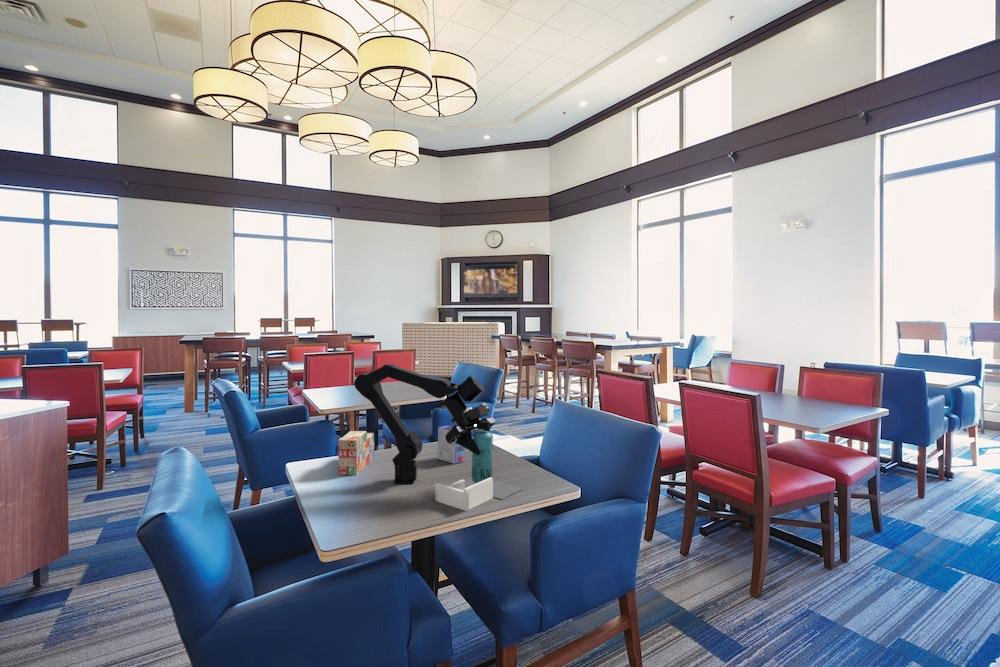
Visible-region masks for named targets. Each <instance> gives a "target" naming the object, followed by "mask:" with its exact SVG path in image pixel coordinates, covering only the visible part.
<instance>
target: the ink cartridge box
mask: <svg viewBox="0 0 1000 667" xmlns="http://www.w3.org/2000/svg"><path fill="white" fill-rule="evenodd" d="M456 425H457V424H456V422H455V423H454V424H453V423H452V421H450V422H449V425H444V426H438V428H437V430H438V434H437V459H438V460H440V461H444V462H447V463H451V464H454V465H455V464H459V463H463V462H465V461H466V459H465V458H466V448H465V447H463V446H461V445H459V444H455V442H456V441H457V439H456V440H455V442H453V443H450V444H448V442H447V441H446V439H445V435H446V434H447V432H448V431H449V430H450V429H451V428H452V427H453V426H456ZM455 438H456V437H455Z"/></svg>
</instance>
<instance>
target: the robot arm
mask: <svg viewBox="0 0 1000 667" xmlns="http://www.w3.org/2000/svg"><path fill="white" fill-rule="evenodd" d="M387 378H390V379H393V380H396V381H398V382H402V383H405V384H408V385H411V386H412V387H413V386H414V387H417V388H419V389H422V390H423V391H424V392H426V393H427V394H428V395H430V396H432V397H434V398H436V399H439V404H438V406H437V408H438V409H442V410H445V409H446V410H447V411H448V413H449V414H450V416H451V417H452V419H451V421H452V423H451V424H455V422H456V424H457V425H456V424H455V425H456V426H453V427H452V428H451V429H450V430H449V431H448V432H447V434H446V435H445V439H446V441H447V442H448V444H450V443H453V442H455V440H456V439H457V441H456V442H455V444H459V445H461V446H463V447H465V450H468V451H470V452H471V453H472V452H473V453H475V454H476V455H479V454H480V451H479V449H478V447H477V446H476V444H475V442H474V440H473V434H472V433H475V432H476V431H481V430H484V431H489V432H490V433H491V428H492V427H494V425H496V423H497V421H496V420H495V418H494V416H489V413H490V407H489V405H488V404H487V403H486V402H482V403H480V404H478V406H476V407H474V408H473V407H468V406H467V404H466V402H469V403H472V402H473V401H474V400H476V399H477V398H479V396H481V395H482V394H483V393H484V392H485V388H484V387H483V385H482V384H481V382H480V381H478V380H477V379H475V378H474V377H473V376H472V375H469V376H468V377H467V378H466V379H465V380H464V381H462V383H460V384H458V383H454V382H451V381H450V379H448V378H445V377H441V376H440V377H439V376H428V375H425V374H421V373H418V372H415V371H412V370H409V369H406V368H403V367H400V366H397V365H395V364H393V363H387V364H384V365H382V366H381V367H379V368H377V369H375V370H373V371H371V372H364V373H362V374H359V375H357V376H356V377H355V379H354V383H353V384H354V388H355V390H357V392H359V394H360V395H361V396H362V397H363V398H365V399H366V400H368V401H369V402H370V403H371V404H372V405H373V407H374V408H375V411H377V413H378V415H379V416H380V418H381V419H382V421H383V422H384V424H385V425H386V427H387V429H389V431H390V433H391V434H392V436H393V438H394V439H395V445H396V449H397V450H398V453H397V454H396V455H395V456H394V457H393V458H392V463H393V465H394V480H393V484H407V485H410V484H411V485H412V484H414V483H415V482H416V480H417V479H418V465H417V460H415V459H417V456H418V455H419V454H420V453H421V452H422V451H423V443H422V441H423V439H422V438H420V436H419V435H418V432H417V431H416V430H415V429H414V430H413V431H412V432H411V431H410V430H409V429H408V428H406V426H405V424H404V423H403V421H402V420H401V418H400V417H399V415H398V414H397V412H396V411H395V410H394V408H393V407H392V405H391V403H390V402H389V400H388V399H387V397H386V396H385V395H384V393H383V387H382V384H381V383H382V381H384V380H386V379H387ZM447 395H448V396H447ZM445 397H446V398H445ZM442 398H445V399H442ZM485 416H487V417H485ZM483 417H484V418H483ZM481 418H482V419H481ZM479 420H487V421H489V425H490V428H489V429H478V428H476V425H477V421H479ZM451 421H450V422H451ZM455 437H456V438H455ZM493 450H494V447H493Z"/></svg>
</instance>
